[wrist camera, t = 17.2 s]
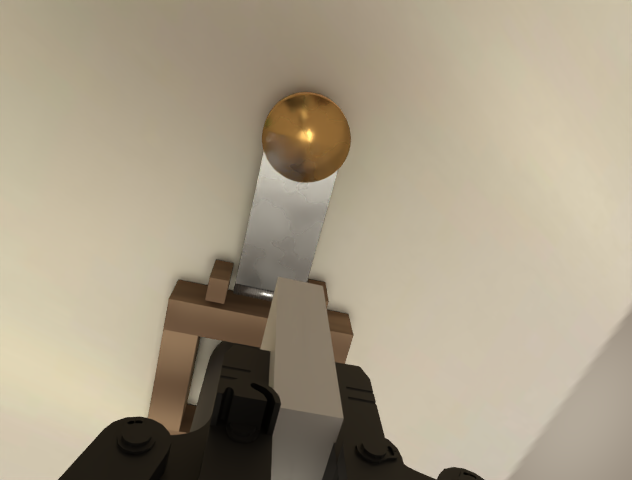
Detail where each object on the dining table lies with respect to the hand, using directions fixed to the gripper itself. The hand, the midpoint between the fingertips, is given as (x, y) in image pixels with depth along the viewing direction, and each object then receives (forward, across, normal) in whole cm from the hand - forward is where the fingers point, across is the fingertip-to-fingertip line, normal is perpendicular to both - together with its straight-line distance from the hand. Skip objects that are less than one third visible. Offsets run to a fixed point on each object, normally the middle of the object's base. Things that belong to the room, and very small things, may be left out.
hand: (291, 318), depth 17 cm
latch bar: (+16, 0, 0) cm, 16 cm away
